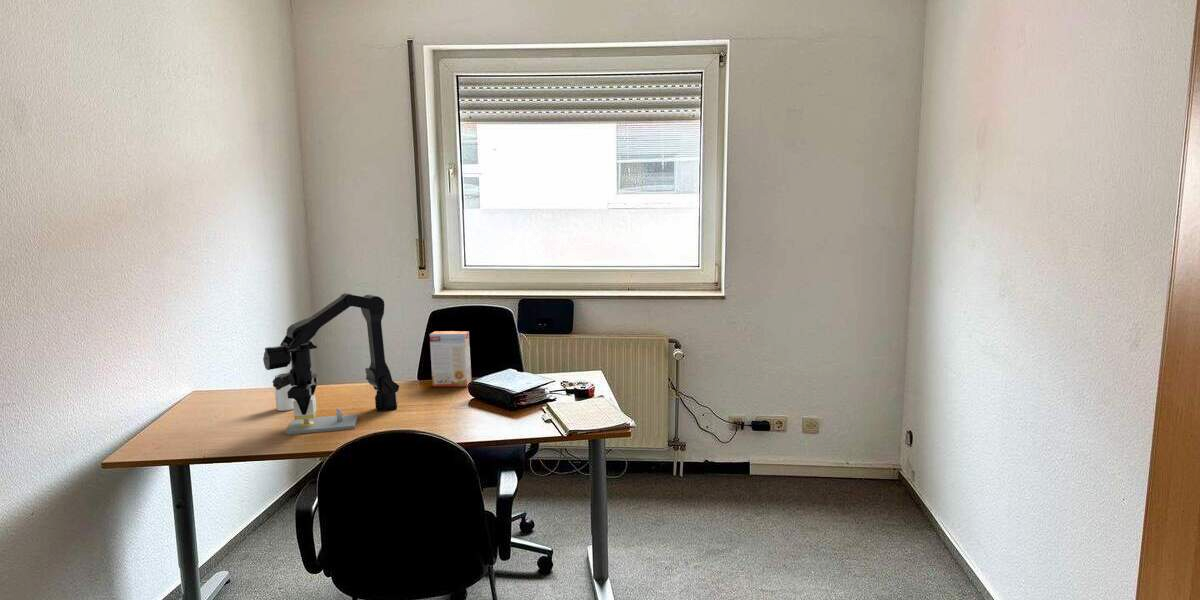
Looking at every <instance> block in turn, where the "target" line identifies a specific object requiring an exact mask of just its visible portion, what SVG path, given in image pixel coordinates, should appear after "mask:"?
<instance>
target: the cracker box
mask: <svg viewBox="0 0 1200 600" xmlns="http://www.w3.org/2000/svg"><path fill="white" fill-rule="evenodd" d="M470 346H471V345H470V331H466V330H465V331H464V330H463V331H462V330H461V331H459V330H457V331H456V330H455V331H454V330H449V331H448V330H446V331H445V330H444V331H443V330H442V331H441V330H439V331H438V330H435V331H433V332H431V333H429V347H430V348H429V349H430V361H431V363H430V364H431V380H432V386H433V387H461V388H462V387H463V388H465V387H468V386H469V385H470V384H469V383H470V382H471V381H472V367H471V366H472V364H471V347H470ZM468 384H469V385H468Z"/></svg>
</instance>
